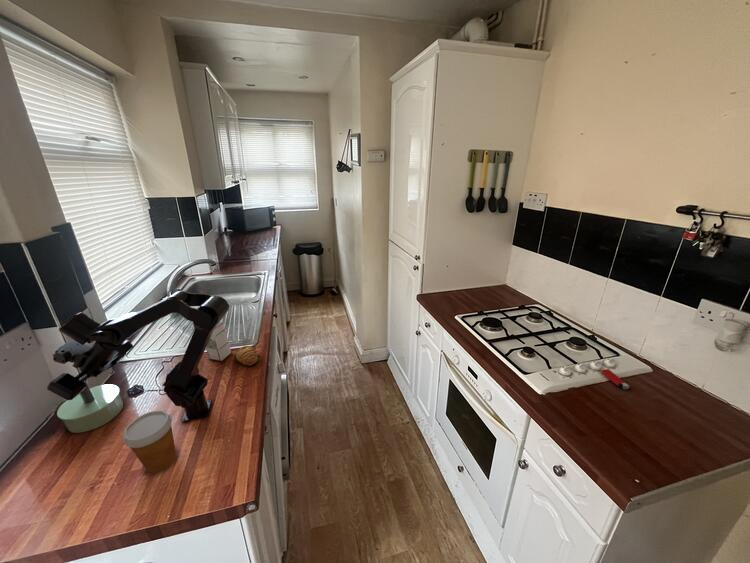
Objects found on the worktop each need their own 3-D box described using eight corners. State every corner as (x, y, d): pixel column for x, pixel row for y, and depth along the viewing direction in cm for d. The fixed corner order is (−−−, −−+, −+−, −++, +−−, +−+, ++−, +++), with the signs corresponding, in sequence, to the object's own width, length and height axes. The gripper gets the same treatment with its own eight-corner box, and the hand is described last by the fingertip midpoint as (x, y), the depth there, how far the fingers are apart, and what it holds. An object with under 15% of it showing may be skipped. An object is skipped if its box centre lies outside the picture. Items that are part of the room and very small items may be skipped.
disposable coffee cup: (175, 437, 82) (162, 403, 77) (189, 457, 76) (176, 421, 72) (132, 463, 75) (115, 427, 71) (145, 487, 69) (127, 450, 65)
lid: (107, 415, 84) (95, 390, 81) (46, 427, 80) (31, 402, 77) (128, 383, 96) (119, 360, 93) (76, 392, 93) (64, 369, 89)
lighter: (609, 369, 102) (630, 385, 94) (608, 372, 102) (629, 388, 95) (601, 369, 101) (621, 386, 94) (600, 372, 102) (620, 389, 95)
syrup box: (231, 352, 118) (224, 319, 112) (220, 361, 112) (212, 327, 107) (219, 350, 119) (211, 317, 114) (208, 359, 114) (198, 325, 108)
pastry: (263, 361, 112) (261, 352, 111) (245, 369, 108) (243, 360, 106) (252, 350, 118) (250, 342, 117) (234, 358, 114) (232, 350, 113)
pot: (111, 426, 86) (105, 412, 84) (56, 437, 83) (48, 424, 81) (130, 395, 97) (125, 383, 95) (82, 404, 94) (76, 392, 92)
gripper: (102, 317, 88) (78, 350, 92) (37, 355, 71) (11, 394, 75) (138, 339, 91) (113, 370, 95) (84, 382, 74) (57, 418, 78)
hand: (77, 386), depth 86 cm, fingers open, 8 cm apart
